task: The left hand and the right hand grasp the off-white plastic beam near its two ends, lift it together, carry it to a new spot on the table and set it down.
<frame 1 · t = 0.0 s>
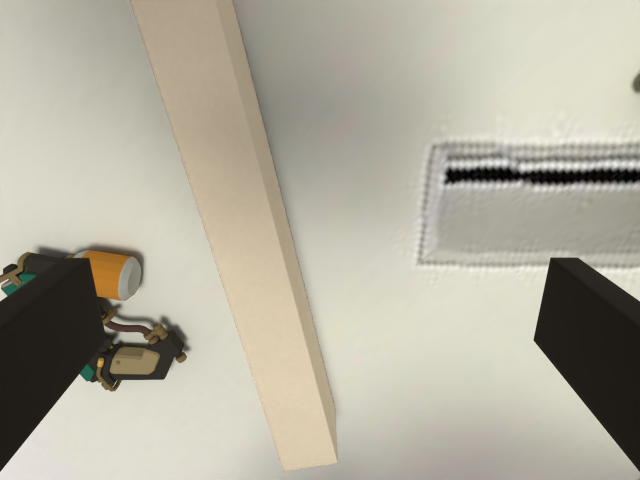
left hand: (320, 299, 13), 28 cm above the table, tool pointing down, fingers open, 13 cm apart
beam: (248, 183, 40), on the table
spray gun: (105, 312, 45), on the table
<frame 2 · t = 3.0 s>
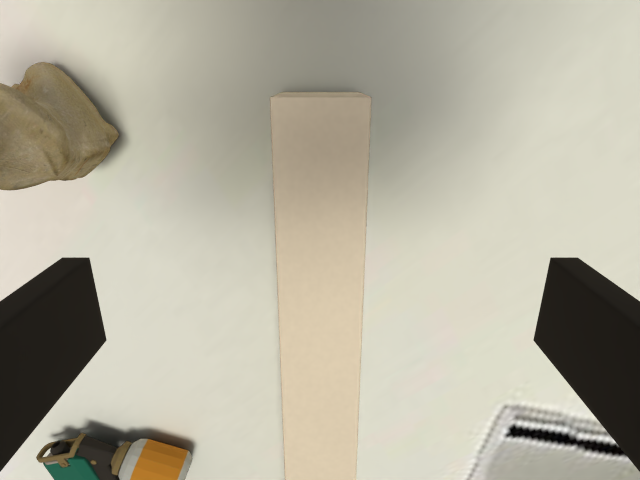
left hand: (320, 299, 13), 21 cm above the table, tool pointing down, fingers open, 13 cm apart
beam: (320, 405, 40), on the table, touching right hand
sculpture: (78, 118, 31), on the table
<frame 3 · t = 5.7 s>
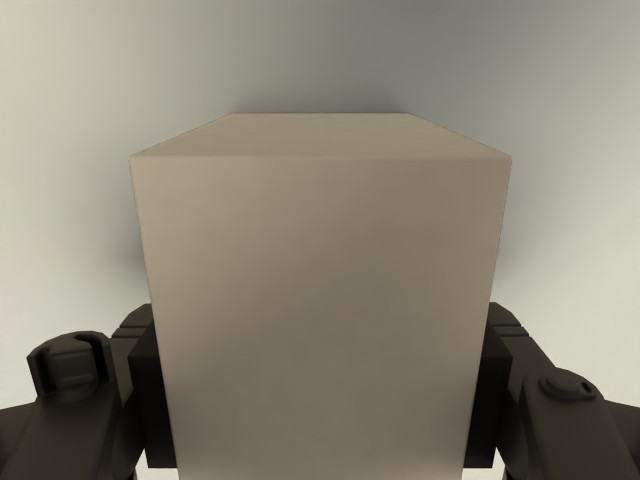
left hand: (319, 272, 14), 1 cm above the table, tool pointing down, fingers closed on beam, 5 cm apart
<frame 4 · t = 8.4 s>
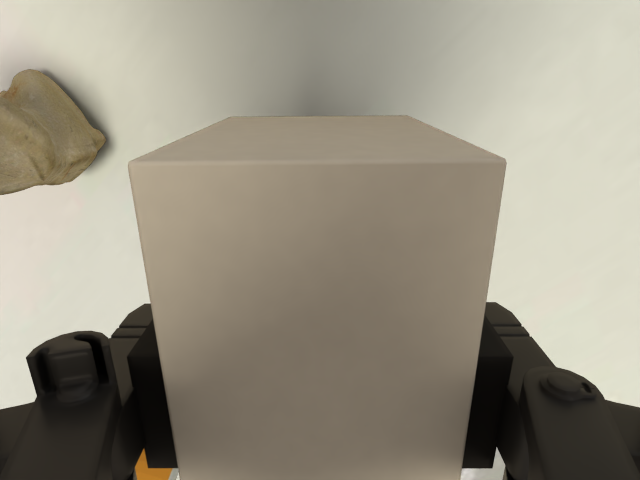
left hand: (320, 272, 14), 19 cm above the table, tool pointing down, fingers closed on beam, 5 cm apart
sculpture: (66, 124, 31), on the table
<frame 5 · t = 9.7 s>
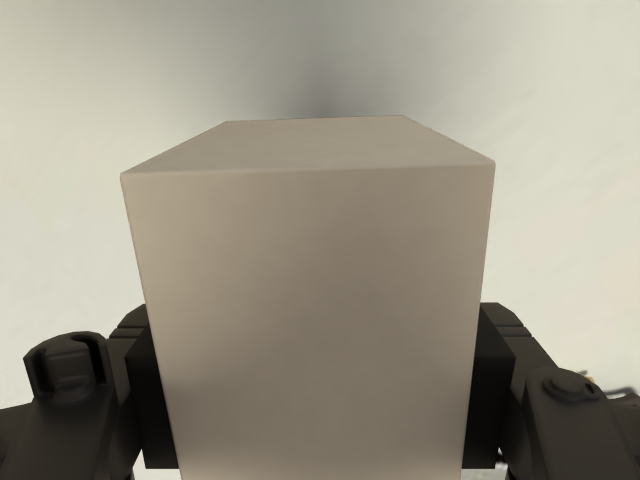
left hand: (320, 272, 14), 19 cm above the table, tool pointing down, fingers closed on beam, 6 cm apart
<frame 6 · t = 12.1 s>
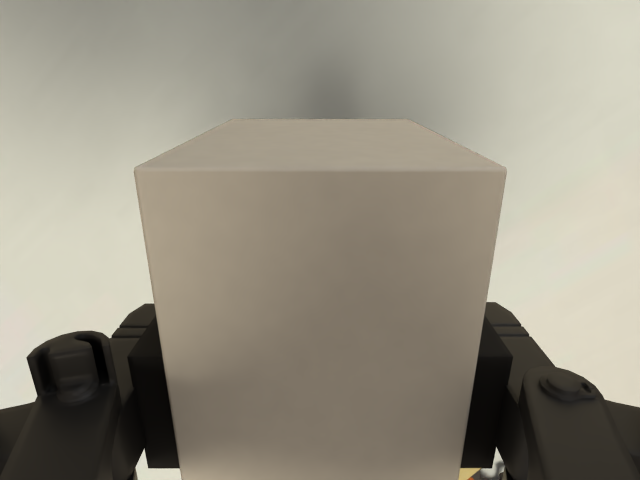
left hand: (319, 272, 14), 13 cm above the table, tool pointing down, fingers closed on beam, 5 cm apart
when the left hand's fingers open (2 cm above the table, at t = 14.0 s): beam drops 1 cm, on the table.
when the right hand's fingers open (2 cm above the table, at t = 14.0 s): beam drops 1 cm, on the table.
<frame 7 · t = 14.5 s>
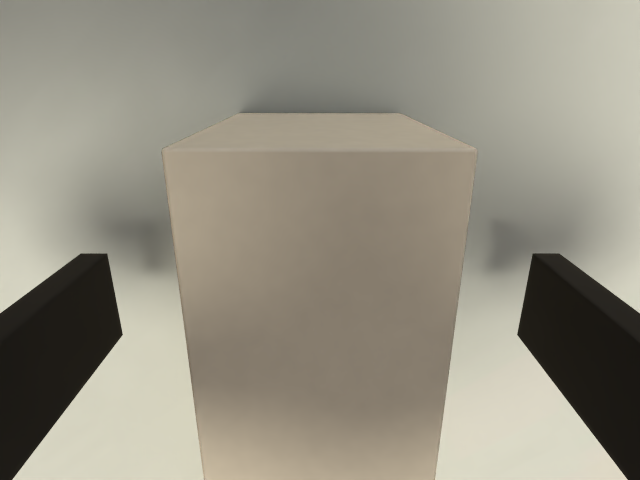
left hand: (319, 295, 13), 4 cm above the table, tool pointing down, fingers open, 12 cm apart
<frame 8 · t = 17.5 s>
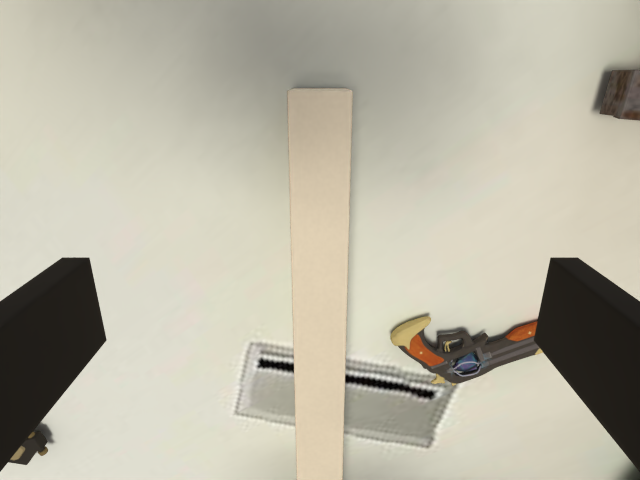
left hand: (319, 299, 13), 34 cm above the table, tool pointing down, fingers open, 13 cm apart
toy gun: (472, 334, 53), on the table
beam: (319, 325, 53), on the table
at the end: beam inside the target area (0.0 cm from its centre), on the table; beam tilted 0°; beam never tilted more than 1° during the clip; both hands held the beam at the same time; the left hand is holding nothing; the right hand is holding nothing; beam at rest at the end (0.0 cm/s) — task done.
